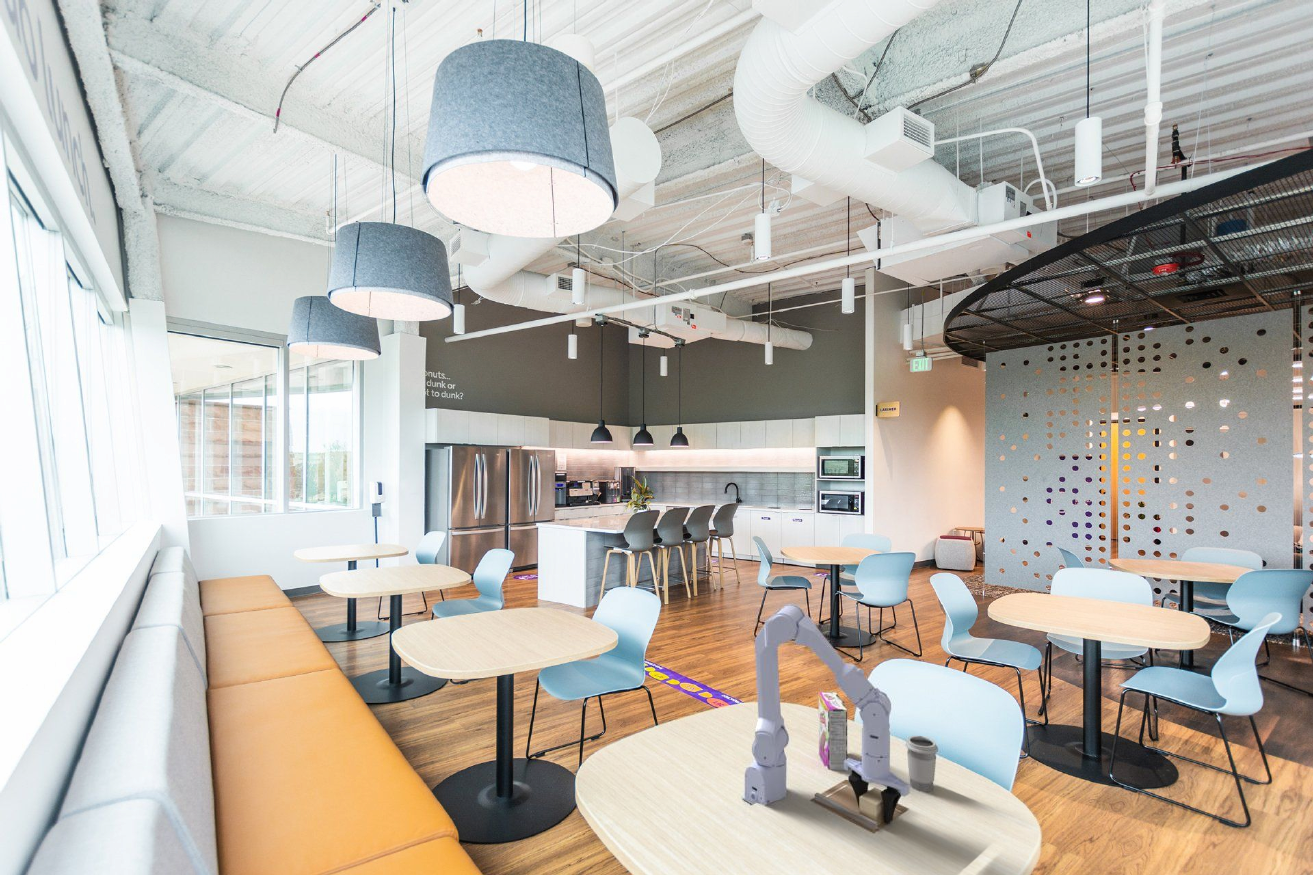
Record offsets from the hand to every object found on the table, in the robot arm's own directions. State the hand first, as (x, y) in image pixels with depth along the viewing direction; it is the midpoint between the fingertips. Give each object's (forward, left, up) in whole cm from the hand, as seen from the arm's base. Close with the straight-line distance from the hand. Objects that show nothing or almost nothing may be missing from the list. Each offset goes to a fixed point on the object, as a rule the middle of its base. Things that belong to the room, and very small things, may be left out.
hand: (875, 814), depth 141 cm
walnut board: (+2, +5, -2) cm, 6 cm away
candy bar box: (+14, +21, -2) cm, 26 cm away
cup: (+20, 0, -2) cm, 20 cm away
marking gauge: (+2, 0, 0) cm, 2 cm away
